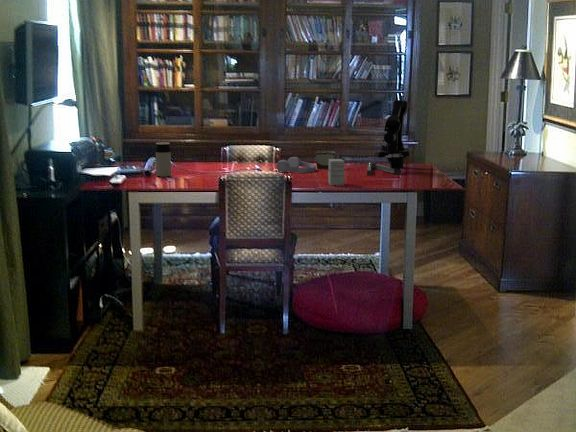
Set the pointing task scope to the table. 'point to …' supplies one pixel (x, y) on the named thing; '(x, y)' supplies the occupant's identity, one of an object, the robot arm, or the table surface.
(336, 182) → the supplement box
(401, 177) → the table surface
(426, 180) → the table surface
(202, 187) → the table surface
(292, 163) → the headphones
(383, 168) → the tongs arm
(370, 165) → the tongs base
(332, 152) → the food container
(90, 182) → the table surface
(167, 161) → the travel mug
